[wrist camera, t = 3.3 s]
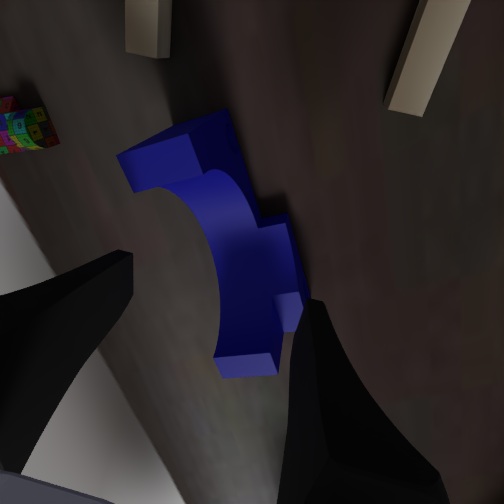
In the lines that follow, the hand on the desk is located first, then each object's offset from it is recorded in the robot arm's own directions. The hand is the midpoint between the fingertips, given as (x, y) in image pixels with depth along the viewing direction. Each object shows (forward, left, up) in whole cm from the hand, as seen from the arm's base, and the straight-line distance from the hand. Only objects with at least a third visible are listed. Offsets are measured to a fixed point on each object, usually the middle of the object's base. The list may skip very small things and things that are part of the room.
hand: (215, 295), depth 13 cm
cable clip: (0, 0, -8) cm, 8 cm away
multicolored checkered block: (+13, -2, -8) cm, 16 cm away
